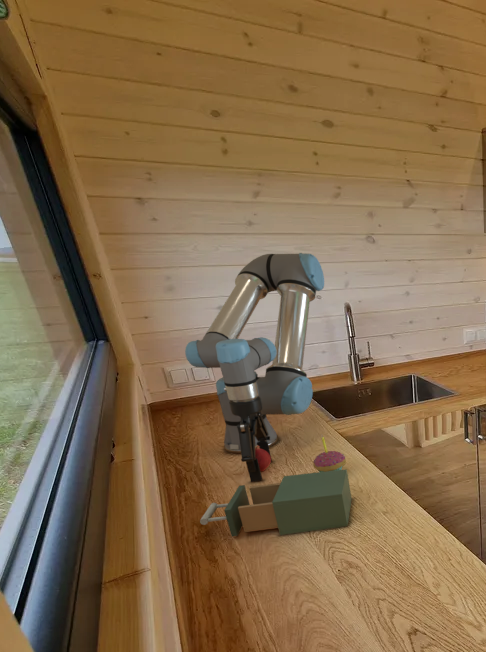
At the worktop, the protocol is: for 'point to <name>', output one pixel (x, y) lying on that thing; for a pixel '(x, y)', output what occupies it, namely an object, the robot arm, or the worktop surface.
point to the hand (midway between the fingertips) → (262, 471)
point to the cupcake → (329, 460)
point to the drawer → (247, 510)
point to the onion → (262, 458)
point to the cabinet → (312, 502)
